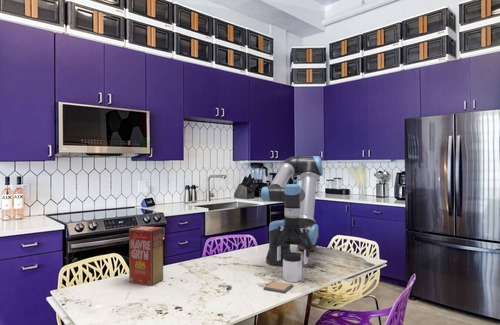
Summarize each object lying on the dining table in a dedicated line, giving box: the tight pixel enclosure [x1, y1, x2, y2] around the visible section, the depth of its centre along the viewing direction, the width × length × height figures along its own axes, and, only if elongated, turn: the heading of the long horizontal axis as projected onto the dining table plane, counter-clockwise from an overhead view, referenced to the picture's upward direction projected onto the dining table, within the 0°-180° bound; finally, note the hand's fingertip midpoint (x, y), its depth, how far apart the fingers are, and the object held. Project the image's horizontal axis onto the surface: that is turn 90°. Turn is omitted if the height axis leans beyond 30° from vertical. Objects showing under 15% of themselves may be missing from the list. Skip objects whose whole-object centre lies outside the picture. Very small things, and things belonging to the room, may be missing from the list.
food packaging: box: [128, 225, 164, 287], centre depth 167 cm, size 13×9×25 cm
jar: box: [282, 251, 303, 283], centre depth 170 cm, size 9×8×12 cm
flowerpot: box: [297, 234, 319, 252], centre depth 228 cm, size 14×15×20 cm
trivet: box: [263, 281, 294, 294], centre depth 158 cm, size 10×10×1 cm
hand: (292, 261), depth 169 cm, fingers open, 13 cm apart
